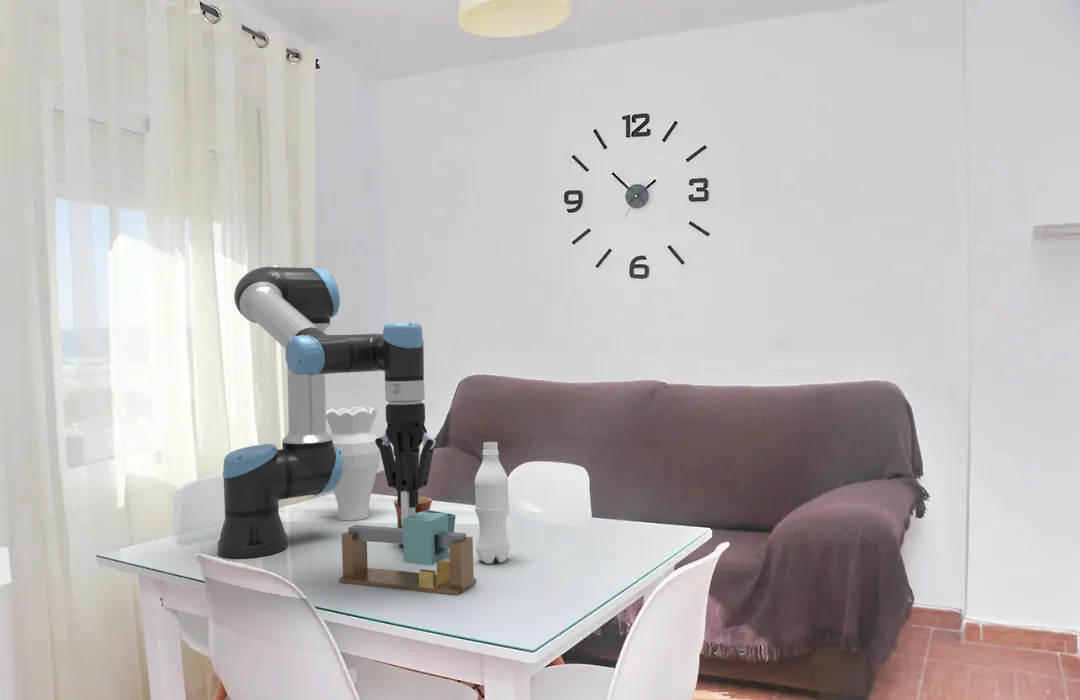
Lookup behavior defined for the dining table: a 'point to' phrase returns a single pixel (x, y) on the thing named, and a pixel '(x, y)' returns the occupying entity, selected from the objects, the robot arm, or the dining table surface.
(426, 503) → the mug
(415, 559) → the block
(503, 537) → the water bottle
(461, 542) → the rail
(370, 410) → the vase
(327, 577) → the dining table surface
